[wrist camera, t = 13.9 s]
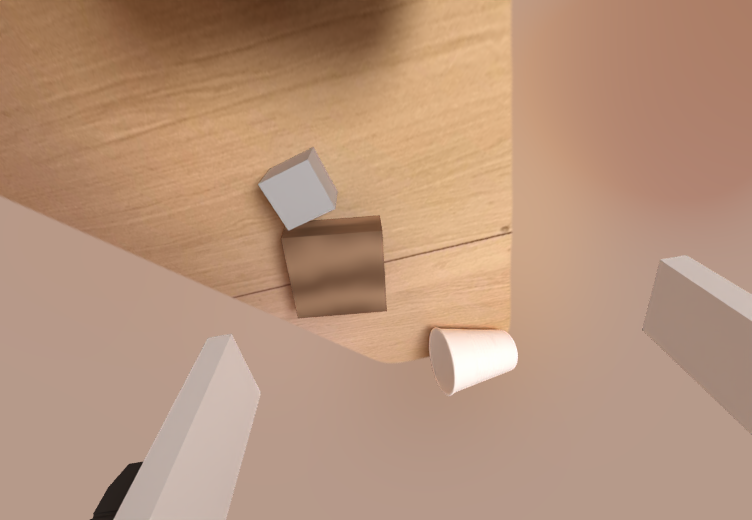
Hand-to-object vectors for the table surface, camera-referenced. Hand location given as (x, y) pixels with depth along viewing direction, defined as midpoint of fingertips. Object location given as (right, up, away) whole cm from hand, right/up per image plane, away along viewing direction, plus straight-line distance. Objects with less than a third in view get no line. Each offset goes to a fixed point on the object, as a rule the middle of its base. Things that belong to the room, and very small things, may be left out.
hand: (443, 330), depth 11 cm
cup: (+18, -12, +44) cm, 49 cm away
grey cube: (-11, +12, +33) cm, 36 cm away
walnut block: (-7, +3, +39) cm, 39 cm away
